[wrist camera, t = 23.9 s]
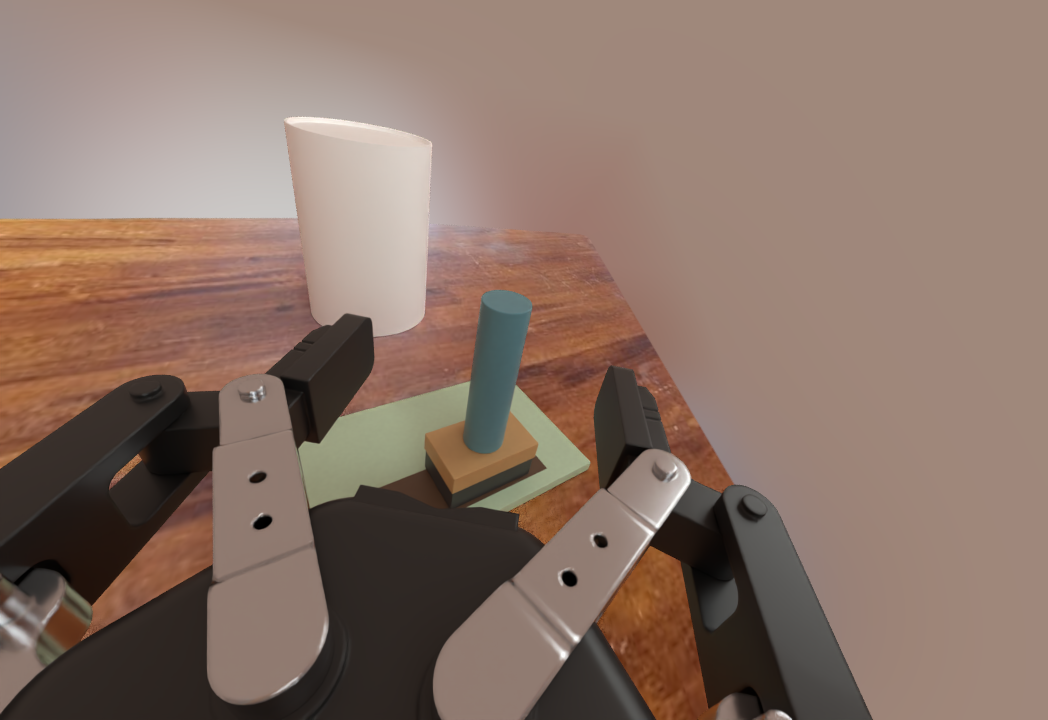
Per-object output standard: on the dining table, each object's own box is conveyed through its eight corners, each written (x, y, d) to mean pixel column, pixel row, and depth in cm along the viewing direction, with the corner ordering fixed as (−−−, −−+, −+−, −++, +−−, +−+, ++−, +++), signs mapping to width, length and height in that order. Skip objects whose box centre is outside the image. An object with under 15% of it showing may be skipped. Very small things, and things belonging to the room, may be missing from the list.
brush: (499, 436, 34) (532, 278, 26) (530, 474, 31) (578, 311, 23) (422, 465, 30) (432, 290, 22) (449, 512, 27) (472, 331, 19)
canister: (309, 286, 52) (284, 110, 40) (412, 284, 58) (415, 131, 46) (313, 341, 42) (282, 131, 31) (436, 332, 48) (447, 153, 37)
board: (502, 378, 43) (503, 371, 42) (587, 469, 34) (591, 461, 34) (238, 454, 29) (235, 445, 29) (272, 636, 21) (268, 628, 20)
